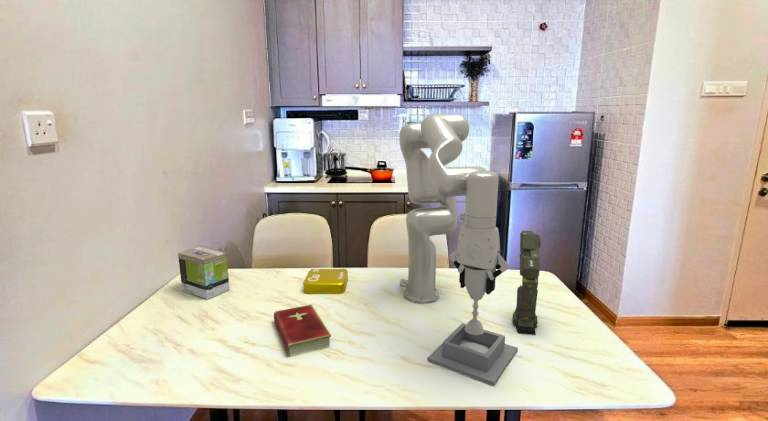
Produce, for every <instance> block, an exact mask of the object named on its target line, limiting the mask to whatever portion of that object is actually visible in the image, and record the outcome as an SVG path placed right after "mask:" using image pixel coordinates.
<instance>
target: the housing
mask: <svg viewBox="0 0 768 421" xmlns="http://www.w3.org/2000/svg"><path fill="white" fill-rule="evenodd" d="M466 325H467V323H463V322H462V323H461V324H459V325H458V326H457V327H456V328H455V329H454V330H453V332H451V333H450V334H449V335H448V336H447V337H446V338H445V339H444V340H443V341H442V343H441V344H440V345H438V347H437V348H436V349H435V350H434V351H432V353H431V354H429V355H428V356H427V358H426V362H428V363H431V364H434V365H437V366H440V367H442V368H445V369H447V370H450V371H452V372H455V373H458V374H461V375H463V376H466V377H469V378H471V379H474V380H477V381H479V382H482V383H485V384H487V385H490V386H493V387H495V385H496V384H497V382H498V381H500V378H501V376H502V375H503V374H504V373H505V370H506V369H507V367H508V366H509V365H510V363H511V362H512V360H513V359H514V357H515V356H516V354H517V353H518V350H519V348H518V347H517V346H514V345H510V344H507V343H506V335H503V334H499V333H497V332H495V331H490V330H487V329H484V333H483V334H480V335H472V334H469V333H467V332H466V331H465V327H466Z"/></svg>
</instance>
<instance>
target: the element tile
mask: <svg viewBox="0 0 768 421" xmlns="http://www.w3.org/2000/svg"><path fill="white" fill-rule="evenodd" d="M348 271H349V270H347V269H346V268H313V269H312V268H311V269H310V270H309V271H308V272H307V275H306V276H305V278H304V280H303V293H304V294H306V295H342V294H344V293H345V292H346V289H347V285H348V281H349V272H348Z"/></svg>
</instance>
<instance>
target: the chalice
mask: <svg viewBox="0 0 768 421" xmlns="http://www.w3.org/2000/svg"><path fill="white" fill-rule="evenodd" d="M463 266H464V265H463ZM464 268H465V281H464V282H465V289H466V291H467V293H468V295H469V298H470V299H471V300H473V304H472V308H473V311H472V312H471V314H472V319H470V320H468V321H467V323H466V324H467V325H466V327H465V331H466V332H467V333H469V334H472V335H480V334H483V333H484V330H485V329H484V325H483V324H482V322H481V321H480V320H478V316H479V314H480V313H479V312H478V309H479V307H480V306H479V301H481V300H482V299H483V297H484V295H485V294H487V293H486V285H487V279H488V278H489V276H488V273H487V271H488V270H484V269H480V268H475V267H470V266H464Z"/></svg>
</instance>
